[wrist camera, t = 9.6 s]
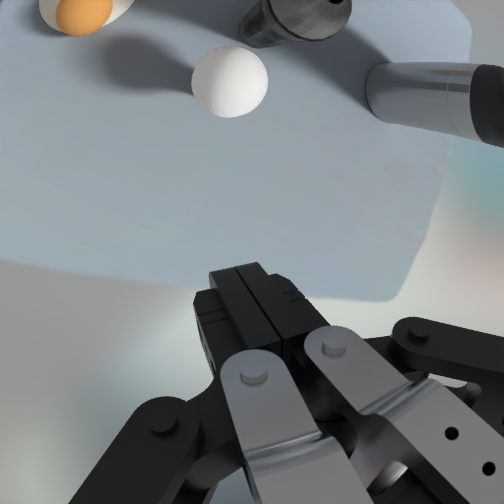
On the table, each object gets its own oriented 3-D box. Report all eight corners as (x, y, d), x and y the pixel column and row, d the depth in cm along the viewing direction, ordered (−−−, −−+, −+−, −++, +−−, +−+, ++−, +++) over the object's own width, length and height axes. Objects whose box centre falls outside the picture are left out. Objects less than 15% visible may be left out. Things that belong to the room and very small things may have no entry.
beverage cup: (225, 4, 27) (316, -78, 10) (283, 7, 29) (401, -47, 12) (229, 59, 30) (330, 13, 13) (288, 59, 32) (416, 35, 15)
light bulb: (170, 76, 29) (184, 58, 19) (224, 52, 29) (261, 29, 20) (196, 127, 32) (221, 132, 23) (248, 101, 33) (292, 99, 23)
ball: (114, 39, 23) (111, 12, 24) (114, -9, 17) (112, -30, 18) (57, 54, 21) (60, 25, 22) (49, 8, 15) (55, -16, 16)
